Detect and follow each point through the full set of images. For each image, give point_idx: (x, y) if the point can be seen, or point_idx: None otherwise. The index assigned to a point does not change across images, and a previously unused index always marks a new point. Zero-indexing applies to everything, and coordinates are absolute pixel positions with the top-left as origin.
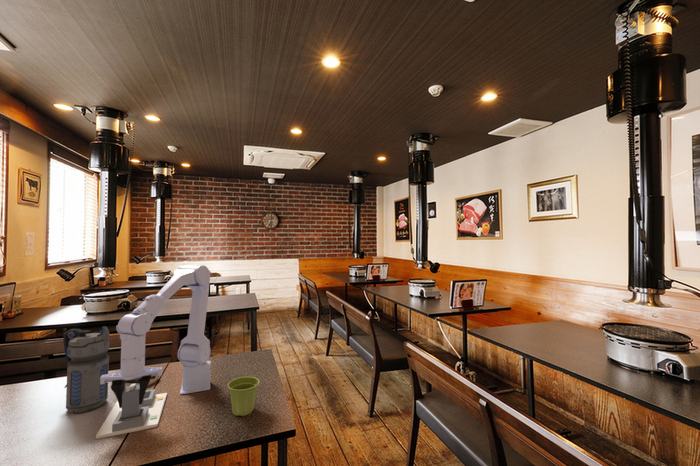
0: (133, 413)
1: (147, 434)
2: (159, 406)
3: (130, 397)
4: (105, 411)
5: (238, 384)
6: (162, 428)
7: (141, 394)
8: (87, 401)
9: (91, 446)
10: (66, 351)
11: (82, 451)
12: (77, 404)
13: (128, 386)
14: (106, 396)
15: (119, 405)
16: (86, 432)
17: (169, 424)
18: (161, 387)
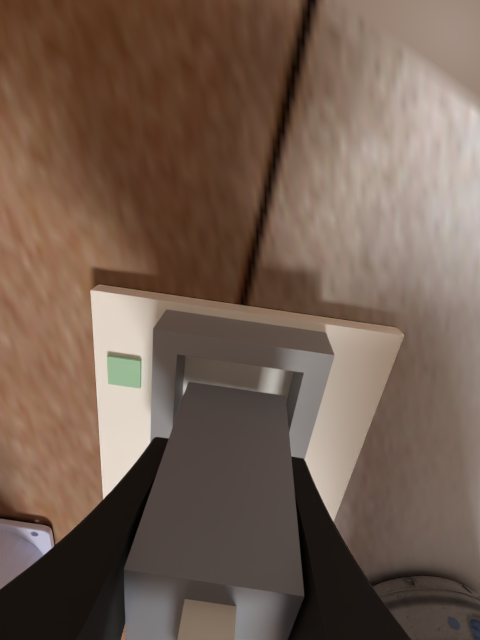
0: (215, 395)
1: (139, 224)
2: (117, 465)
3: (224, 508)
4: (349, 543)
5: None
6: (65, 248)
7: (121, 505)
8: (441, 628)
9: (421, 260)
10: None
11: (468, 229)
12: (476, 625)
13: None
14: None
15: (309, 473)
16: (431, 416)
17: (35, 274)
18: None
